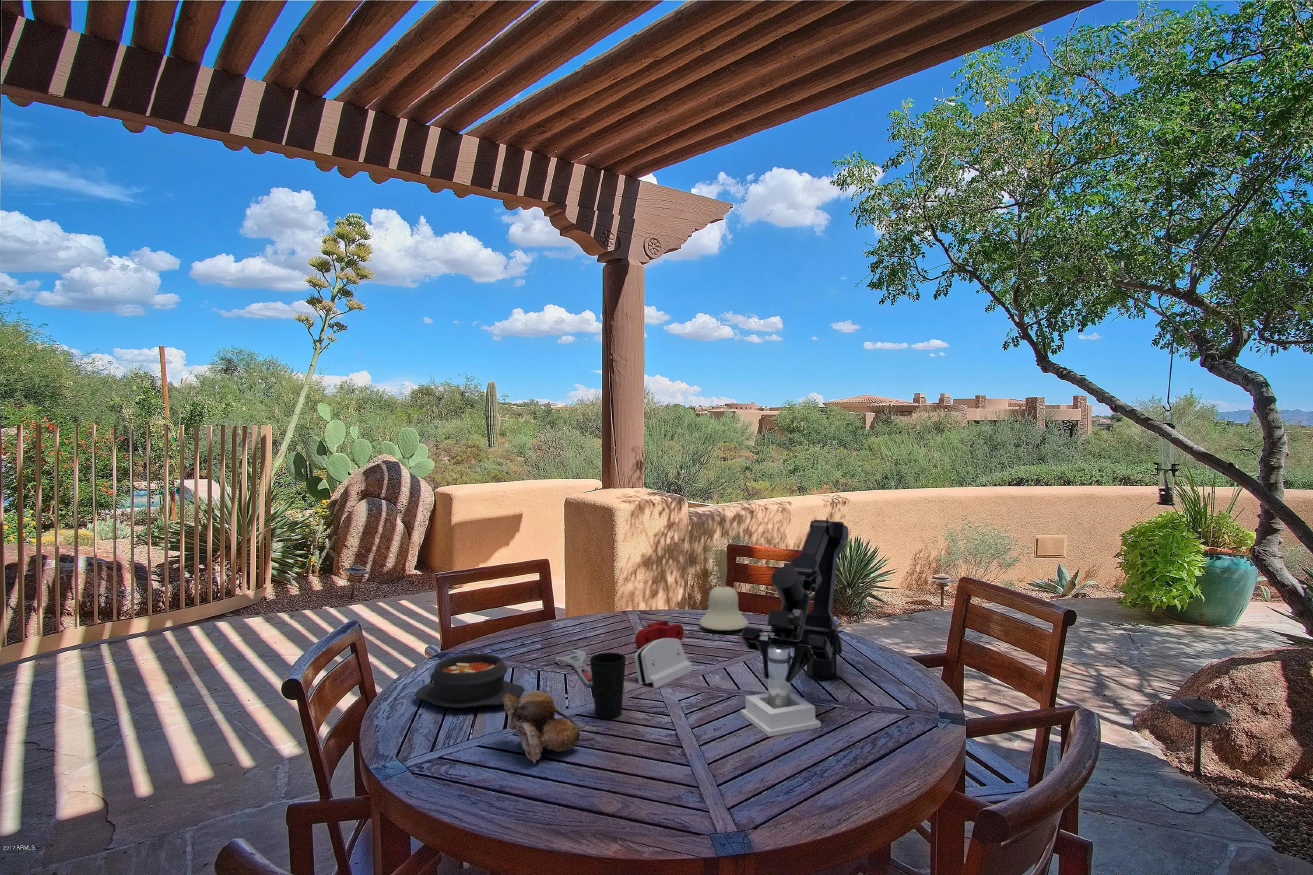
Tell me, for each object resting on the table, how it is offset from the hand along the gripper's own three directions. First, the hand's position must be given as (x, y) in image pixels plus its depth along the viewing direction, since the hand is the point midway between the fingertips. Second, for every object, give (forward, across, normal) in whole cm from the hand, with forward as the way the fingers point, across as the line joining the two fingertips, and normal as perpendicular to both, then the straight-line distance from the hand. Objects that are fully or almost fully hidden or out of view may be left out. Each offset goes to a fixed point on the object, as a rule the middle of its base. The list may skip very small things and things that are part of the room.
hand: (777, 679), depth 141 cm
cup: (+15, -34, -2) cm, 37 cm away
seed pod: (+30, -35, -17) cm, 49 cm away
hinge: (-4, -35, +17) cm, 39 cm away
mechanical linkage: (-20, -50, +34) cm, 64 cm away
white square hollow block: (+5, 0, +7) cm, 9 cm away
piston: (+4, 0, +6) cm, 7 cm away
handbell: (-37, -39, +50) cm, 74 cm away
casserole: (+21, -66, -8) cm, 70 cm away
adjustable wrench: (+1, -56, +12) cm, 58 cm away
